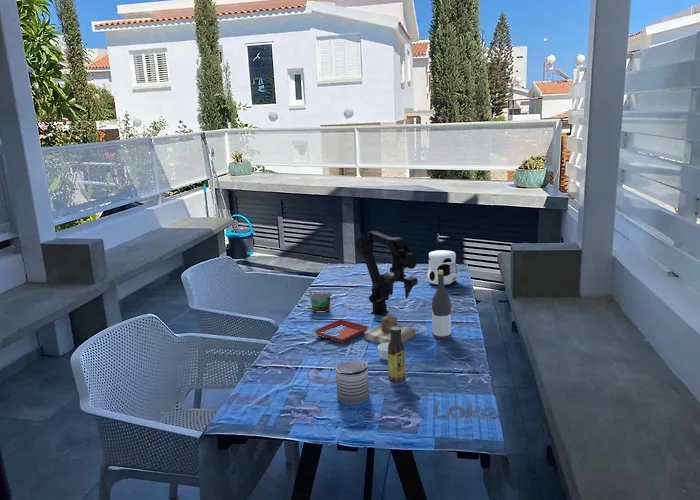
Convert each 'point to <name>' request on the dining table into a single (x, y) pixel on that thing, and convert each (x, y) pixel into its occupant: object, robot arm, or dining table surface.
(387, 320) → the walnut block
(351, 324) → the plant saucer
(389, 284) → the robot arm
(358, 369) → the can
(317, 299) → the food container
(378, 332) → the birch base
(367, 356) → the dining table surface
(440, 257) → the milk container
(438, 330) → the wine bottle
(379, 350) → the ramekin
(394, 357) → the sauce bottle
